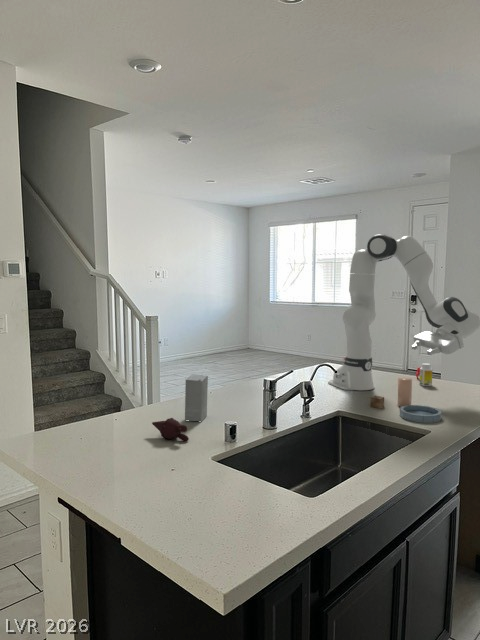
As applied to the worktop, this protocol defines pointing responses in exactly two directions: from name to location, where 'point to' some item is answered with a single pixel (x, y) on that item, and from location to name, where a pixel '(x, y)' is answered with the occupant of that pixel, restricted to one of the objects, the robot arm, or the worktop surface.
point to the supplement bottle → (426, 375)
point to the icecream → (171, 429)
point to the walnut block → (377, 402)
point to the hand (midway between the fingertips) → (420, 350)
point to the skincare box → (196, 397)
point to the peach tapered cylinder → (404, 391)
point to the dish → (420, 413)
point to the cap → (418, 372)
